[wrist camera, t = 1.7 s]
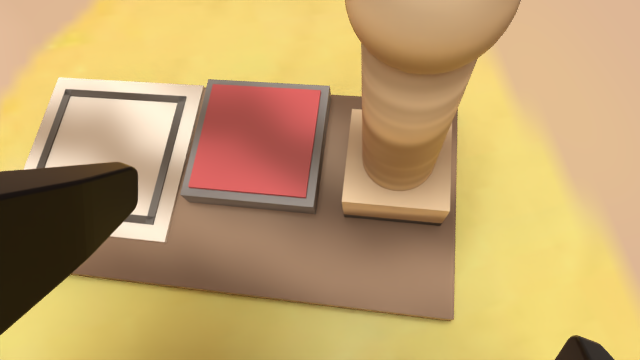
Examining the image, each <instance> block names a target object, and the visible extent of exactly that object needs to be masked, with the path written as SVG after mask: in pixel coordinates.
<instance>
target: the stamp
mask: <svg viewBox="0 0 640 360" xmlns="http://www.w3.org/2000/svg"><path fill="white" fill-rule="evenodd" d="M520 1H521V0H345V5H346V10H347V14H348V17H349V20H350V23H351V25H352V27H353V30H354V32H355V33H356V35H357V37H358V38H359V40H360V41H361V51H362V110H361V109H352V114H351V123H350V132H349V141H348V149H347V158H346V167H345V176H344V185H343V194H342V207H343V213H344V217H350V218H361V219H371V220H382V221H392V222H403V223H413V224H424V225H434V226H441V224H442V223H443V221H444V220H445V218H446V217H447V215H448V214H449V212H450V189H451V146H452V121H453V118H454V116H455V113H456V111H457V109H458V106H459V104H460V101H461V99H462V96H463V94H464V91H465V89H466V86H467V84H468V81H469V79H470V76H471V74H472V71H473V69H474V66H475V64H476V61H477V59H478V57H480V56H481V55H483V54H484V53H485V52H486V51H487V50H489V49H490V48H491V47H492V46H493V45H494V44H495V43H496V42H497V41H498V39H499V38H500V37H501V36H502V35H503V33H504V32H505V31H506V29H507V28H508V26H509V25H510V23H511V21H512V19H513V18H514V15H515V14H516V12H517V9H518V6H519V4H520Z"/></svg>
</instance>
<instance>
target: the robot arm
mask: <svg viewBox="0 0 640 360" xmlns="http://www.w3.org/2000/svg"><path fill="white" fill-rule="evenodd" d="M137 203H138V172H137V170H136V169H135V168H134V167H132V166H130V165H127V164H124V163H122V162H108V163H96V164H84V165H72V166H61V167H49V168H37V169H26V170H14V171H2V172H0V335H1V334H2V333H4V332H5V331H6V330H7V329H8V328H9V327H10V326H12V325H13V324H14V323H15V322H16V321H17V320H19V319H20V318H21V317H22V316H23V315H24V314H25V313H27V312H28V311H29V310H30V309H31V308H32V307H34V306H35V305H36V304H37V303H38V302H39V301H40V300H42V299H43V298H44V297H45V296H46V295H47V294H49V293H50V292H51V291H52V290H53V289H54V288H55V287H57V286H58V285H59V284H60V283H61V282H62V281H64V280H65V279H66V278H67V277H68V276H69V275H70V274H72V273H73V272H74V271H75V270H76V269H77V268H78V267H80V266H81V265H82V264H83V263H84V262H85V261H86V260H87V259H88V258H89V257H90V256H91V255H92V254H93V253H94V252H95V251H96V250H97V249H98V248H99V247H100V246H101V245H102V244H103V243H104V242H105V241H106V240H107V239H108V238H109V236H110V235H111V234H112V233H113V232H114V231H115V230H116V229H117V228H118V227H119V226H120V225H121V224H122V223H123V222H124V221H125V220H126V219H127V218H128V216H129V215H130V214H131V213H132V212H133V211H134V210H135V208H136V206H137ZM555 360H614V359H613V358H612V356H611V355H610V354H609V353H608V352H607V351H606V350H605V349H604V348H603V347H602V346H601V345H600V344H599V343H597V342H594V341H591V340H589V339H586V338H583V337H581V336H578V335H575V336H572V337H570V338H569V339H568V340H567V342H566V343H565V345H564V346H563V348H562V350H561V351H560V353H559V354H558V356H557V357H556V359H555Z"/></svg>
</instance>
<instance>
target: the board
mask: <svg viewBox="0 0 640 360" xmlns="http://www.w3.org/2000/svg"><path fill="white" fill-rule="evenodd" d="M352 109H361V110H362V97H358V96H341V95H331V93H330V86H320V85H302V84H283V83H265V82H247V81H229V80H211V79H208V83H207V87H206V88H204V86H200V85H182V84H165V83H147V82H130V81H112V80H95V79H77V78H58V81H57V83H56V86H55V89H54V91H53V94H52V96H51V99H50V102H49V104H48V107H47V109H46V112H45V115H44V117H43V120H42V123H41V125H40V128H39V130H38V133H37V136H36V138H35V141H34V143H33V146H32V149H31V151H30V154H29V157H28V159H27V162H26V164H25V167H24V170H26V169H37V168H49V167H61V166H72V165H84V164H96V163H108V162H122V163H124V164H127V165H130V166H132V167H134V168H135V169H136V170H137V172H138V203H137V206H136V208H135V210H134V211H133V212H132V213H131V214H130V215H129V216H128V218H127V219H126V220H125V221H124V222H123V223H122V224H121V225H120V226H119V227H118V228H117V229H116V230H115V231H114V232H113V233H112V234H111V235H110V236H109V238H108V239H107V240H106V241H105V242H104V243H103V244H102V245H101V246H100V247H99V248H98V249H97V250H96V251H95V252H94V253H93V254H92V255H91V256H90V257H89V258H88V259H87V260H86V261H85V262H84V263H83V264H82V265H81V266H80V267H78V268H77V269H76V270H75V271H74V272H73V273H72V274H71V275H79V276H88V277H96V278H104V279H112V280H120V281H128V282H137V283H145V284H153V285H161V286H169V287H177V288H186V289H194V290H202V291H210V292H218V293H226V294H235V295H243V296H251V297H259V298H267V299H275V300H284V301H292V302H300V303H308V304H316V305H324V306H333V307H341V308H349V309H357V310H365V311H373V312H382V313H390V314H398V315H406V316H414V317H422V318H431V319H439V320H447V321H451V320H454V274H455V220H456V165H457V111H458V109H457V111H456V113H455V116H454V118H453V121H452V146H451V189H450V212H449V214H448V215H447V217H446V218H445V220H444V221H443V223H442V224H441V226H434V225H424V224H413V223H403V222H392V221H382V220H371V219H361V218H350V217H344V213H343V207H342V194H343V185H344V176H345V167H346V158H347V149H348V141H349V132H350V123H351V114H352Z"/></svg>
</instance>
